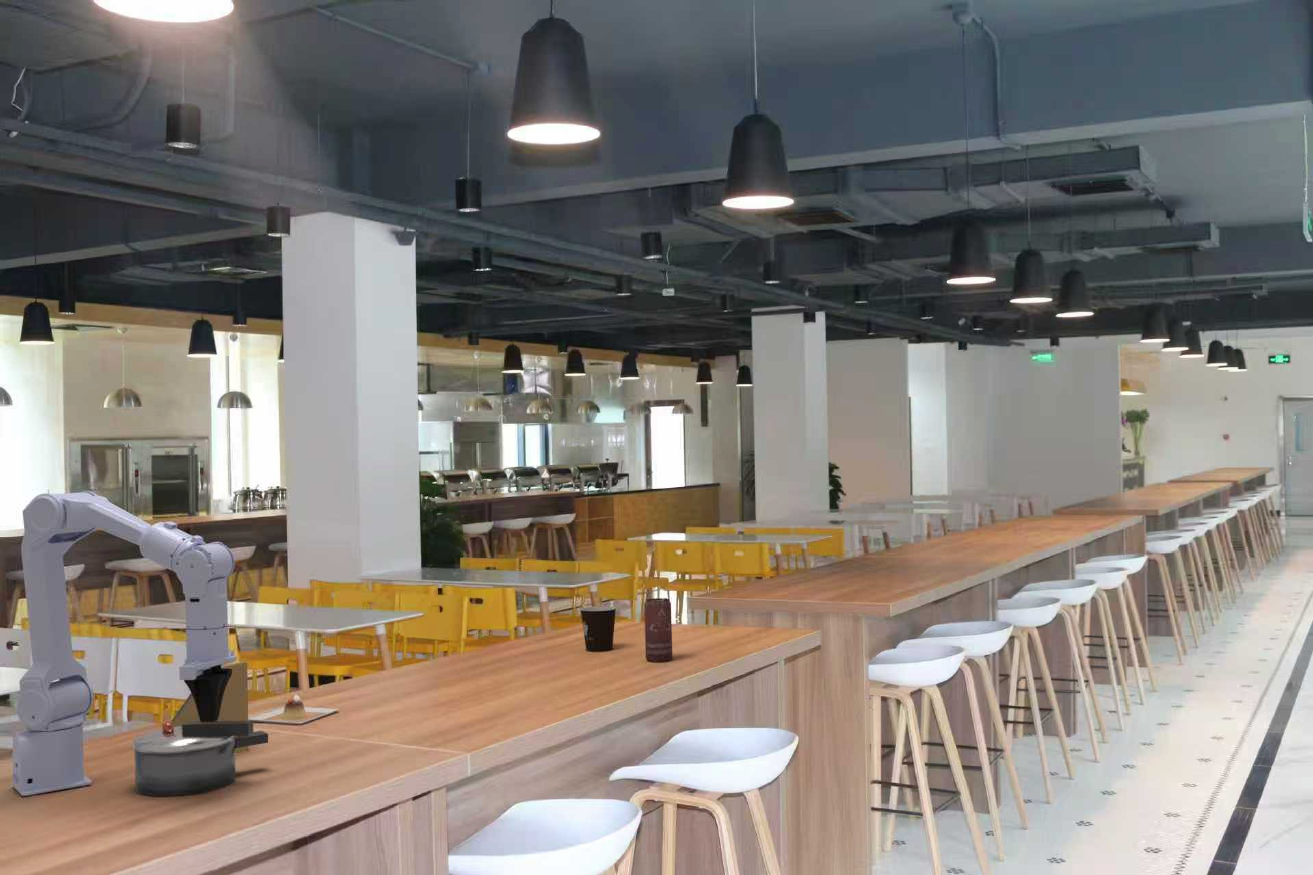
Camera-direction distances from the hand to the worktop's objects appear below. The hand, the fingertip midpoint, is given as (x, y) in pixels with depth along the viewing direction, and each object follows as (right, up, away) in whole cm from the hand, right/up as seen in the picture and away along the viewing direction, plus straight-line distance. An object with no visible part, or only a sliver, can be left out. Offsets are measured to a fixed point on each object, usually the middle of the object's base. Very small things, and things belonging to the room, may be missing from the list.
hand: (209, 720), depth 175 cm
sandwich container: (-11, -12, +26) cm, 31 cm away
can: (+66, -10, +102) cm, 122 cm away
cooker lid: (-4, -4, +6) cm, 8 cm away
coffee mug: (+51, -11, +121) cm, 132 cm away
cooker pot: (-4, -11, +7) cm, 13 cm away
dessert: (-3, -12, +51) cm, 53 cm away
